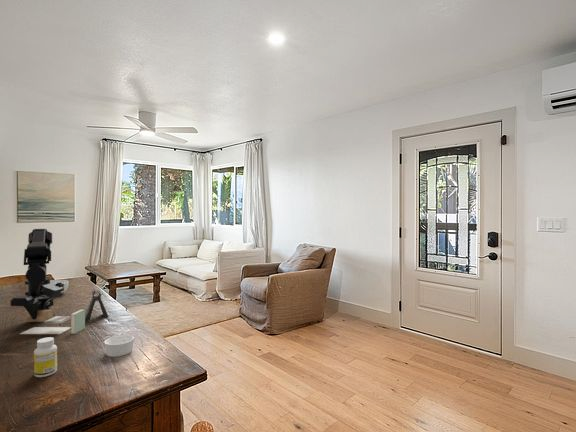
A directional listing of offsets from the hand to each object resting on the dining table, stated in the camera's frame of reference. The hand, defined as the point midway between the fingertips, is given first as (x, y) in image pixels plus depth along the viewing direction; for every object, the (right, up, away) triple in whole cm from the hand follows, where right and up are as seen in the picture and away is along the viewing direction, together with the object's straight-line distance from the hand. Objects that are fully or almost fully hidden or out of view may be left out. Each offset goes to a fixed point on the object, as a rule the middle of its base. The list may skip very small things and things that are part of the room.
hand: (37, 318), depth 126 cm
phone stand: (+13, -6, +17) cm, 22 cm away
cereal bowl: (-35, -5, +55) cm, 65 cm away
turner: (+4, -1, 0) cm, 4 cm away
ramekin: (+41, -6, -17) cm, 44 cm away
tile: (+16, -6, 0) cm, 17 cm away
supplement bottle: (+27, -6, -32) cm, 42 cm away
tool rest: (+3, -6, 0) cm, 6 cm away
